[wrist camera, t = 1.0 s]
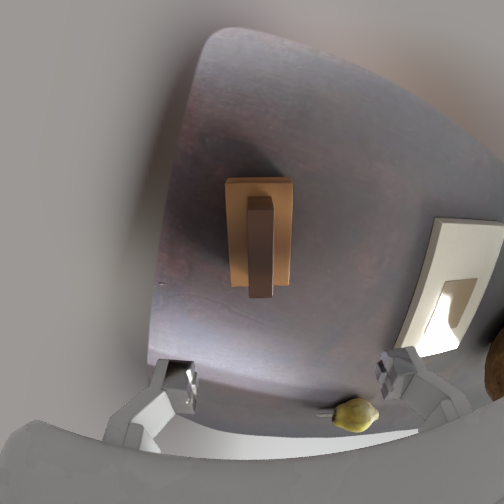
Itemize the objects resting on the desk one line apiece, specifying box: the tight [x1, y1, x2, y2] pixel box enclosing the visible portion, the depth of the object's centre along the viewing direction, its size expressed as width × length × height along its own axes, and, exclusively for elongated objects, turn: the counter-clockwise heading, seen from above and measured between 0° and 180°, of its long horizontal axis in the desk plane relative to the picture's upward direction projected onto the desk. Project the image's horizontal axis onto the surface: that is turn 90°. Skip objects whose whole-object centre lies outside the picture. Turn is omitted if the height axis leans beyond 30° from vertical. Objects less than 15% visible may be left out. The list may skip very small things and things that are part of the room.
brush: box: [225, 177, 293, 298], centre depth 22 cm, size 9×5×6 cm, turn 1°
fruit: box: [317, 398, 379, 432], centre depth 37 cm, size 6×6×10 cm
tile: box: [393, 217, 504, 357], centre depth 28 cm, size 20×12×2 cm, turn 1°
